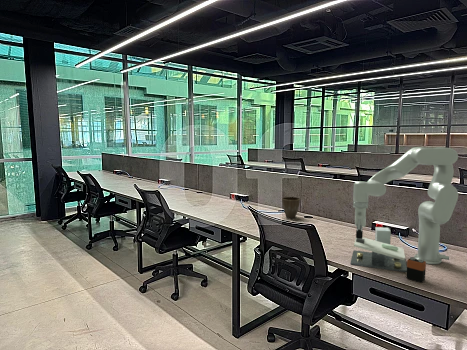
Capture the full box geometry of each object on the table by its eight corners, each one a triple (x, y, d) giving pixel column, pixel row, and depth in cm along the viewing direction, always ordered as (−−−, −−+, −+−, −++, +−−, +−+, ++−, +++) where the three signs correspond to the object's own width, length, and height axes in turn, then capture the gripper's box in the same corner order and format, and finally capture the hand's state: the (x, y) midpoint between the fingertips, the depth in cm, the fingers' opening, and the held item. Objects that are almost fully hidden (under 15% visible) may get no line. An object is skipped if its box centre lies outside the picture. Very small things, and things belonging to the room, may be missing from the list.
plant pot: (289, 214, 277) (289, 196, 275) (303, 217, 265) (303, 198, 264) (278, 217, 267) (278, 198, 266) (291, 220, 256) (292, 200, 254)
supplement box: (387, 248, 190) (388, 227, 188) (390, 252, 182) (391, 231, 181) (374, 247, 192) (375, 226, 190) (376, 251, 185) (377, 230, 183)
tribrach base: (404, 258, 173) (404, 248, 173) (407, 272, 155) (407, 261, 155) (353, 251, 184) (353, 242, 184) (350, 264, 166) (350, 254, 166)
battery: (409, 275, 152) (410, 255, 151) (425, 280, 147) (426, 259, 146) (405, 278, 149) (406, 258, 148) (422, 283, 144) (423, 261, 143)
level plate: (402, 252, 172) (404, 244, 171) (404, 262, 157) (406, 254, 157) (355, 239, 181) (357, 232, 180) (353, 248, 167) (355, 240, 166)
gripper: (367, 208, 162) (366, 243, 164) (368, 202, 176) (367, 235, 178) (351, 206, 165) (350, 241, 167) (354, 201, 179) (352, 233, 181)
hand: (359, 237), depth 173 cm, fingers closed
